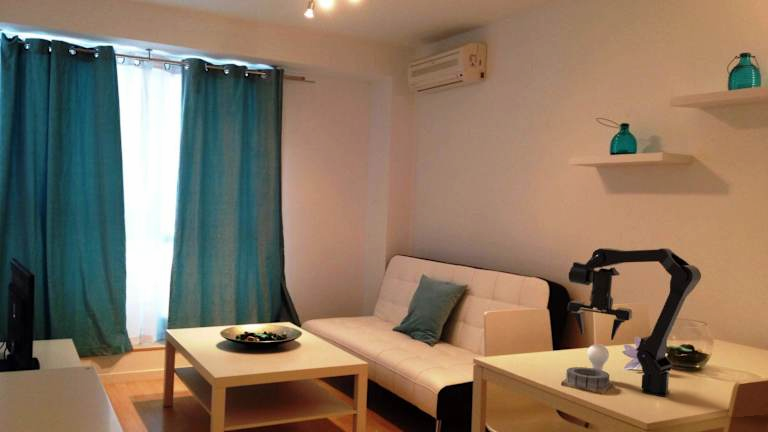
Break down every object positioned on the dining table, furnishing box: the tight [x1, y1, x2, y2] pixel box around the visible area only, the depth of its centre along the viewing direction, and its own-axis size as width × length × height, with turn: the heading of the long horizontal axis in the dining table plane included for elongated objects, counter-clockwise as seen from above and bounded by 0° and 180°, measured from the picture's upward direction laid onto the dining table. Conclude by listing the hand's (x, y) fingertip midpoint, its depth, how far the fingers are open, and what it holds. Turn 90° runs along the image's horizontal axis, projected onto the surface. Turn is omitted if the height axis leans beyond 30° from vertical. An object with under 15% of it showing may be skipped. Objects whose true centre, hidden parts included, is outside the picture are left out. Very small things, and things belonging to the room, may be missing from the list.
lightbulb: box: [587, 343, 610, 371], centre depth 207 cm, size 6×6×11 cm
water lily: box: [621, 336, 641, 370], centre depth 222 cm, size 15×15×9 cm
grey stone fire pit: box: [560, 366, 614, 394], centre depth 199 cm, size 12×12×4 cm
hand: (597, 337), depth 208 cm, fingers open, 9 cm apart
